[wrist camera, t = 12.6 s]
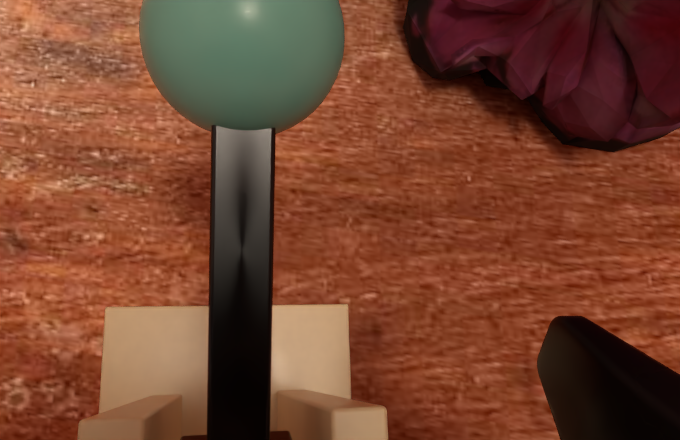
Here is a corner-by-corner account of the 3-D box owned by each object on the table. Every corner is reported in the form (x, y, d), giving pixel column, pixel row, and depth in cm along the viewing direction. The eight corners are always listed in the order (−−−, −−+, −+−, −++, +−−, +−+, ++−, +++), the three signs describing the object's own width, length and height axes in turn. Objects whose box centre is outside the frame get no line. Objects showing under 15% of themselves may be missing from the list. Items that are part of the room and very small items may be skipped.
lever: (153, -35, 12) (125, -131, 9) (327, -19, 13) (367, -102, 9) (145, 558, 12) (115, 698, 9) (316, 543, 13) (351, 668, 10)
